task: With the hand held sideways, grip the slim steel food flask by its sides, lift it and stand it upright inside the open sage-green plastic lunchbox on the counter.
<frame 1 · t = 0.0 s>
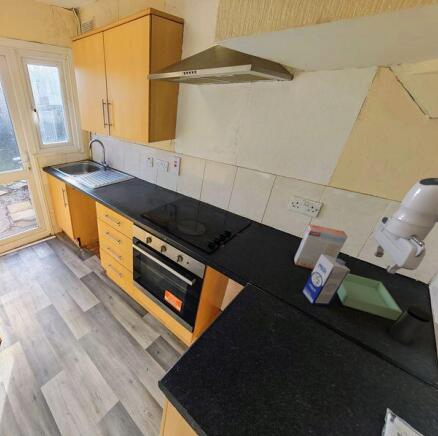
hand: (383, 263, 77), 23 cm above the table, tool pointing down, fingers open, 8 cm apart
cracker box: (309, 266, 112), on the table
milk carton: (314, 298, 93), on the table
food flask: (398, 336, 79), on the table
lunchbox: (360, 296, 95), on the table
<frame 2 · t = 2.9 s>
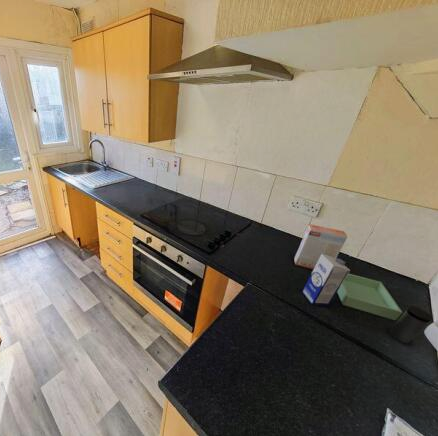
nothing on the table moved.
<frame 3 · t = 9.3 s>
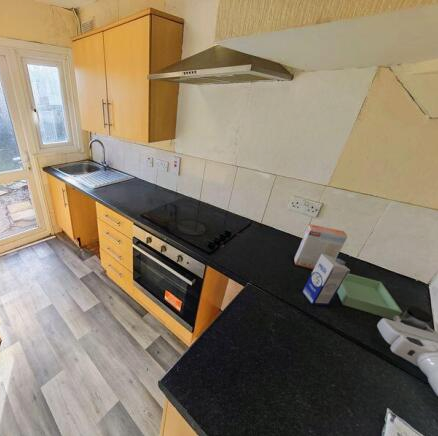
hand: (409, 320, 76), 7 cm above the table, tool horizontal, fingers closed on food flask, 5 cm apart
food flask: (398, 336, 79), on the table, touching gripper
everything else where it was.
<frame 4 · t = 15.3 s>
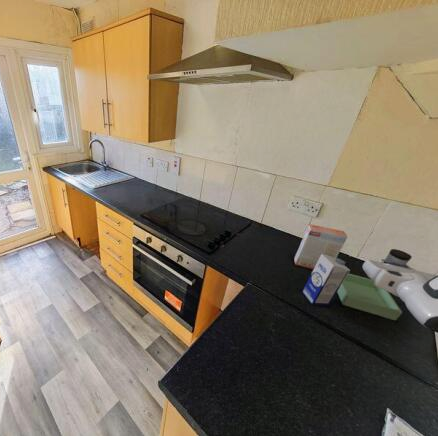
hand: (391, 263, 84), 20 cm above the table, tool horizontal, fingers closed on food flask, 5 cm apart
food flask: (382, 278, 86), point 13 cm above the table, touching gripper
everything else where it was.
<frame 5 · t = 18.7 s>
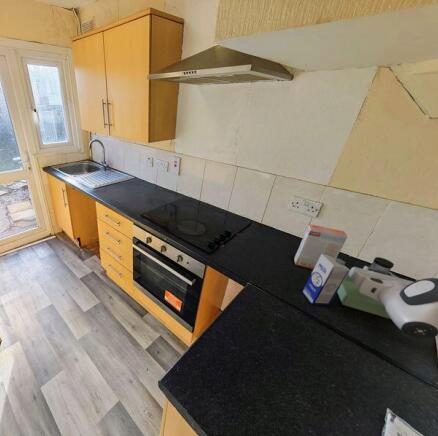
hand: (376, 270, 89), 14 cm above the table, tool horizontal, fingers closed on food flask, 5 cm apart
food flask: (368, 284, 92), point 7 cm above the table, touching gripper
everything else where it was.
when the fingers open (8 cm above the table, at t = 21.5 s): food flask stays where it is, resting on lunchbox.
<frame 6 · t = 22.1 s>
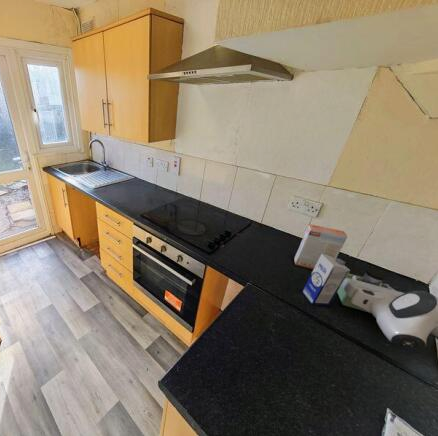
hand: (369, 280, 92), 8 cm above the table, tool horizontal, fingers open, 8 cm apart
food flask: (361, 295, 94), point 1 cm above the table, touching lunchbox
everything else where it was.
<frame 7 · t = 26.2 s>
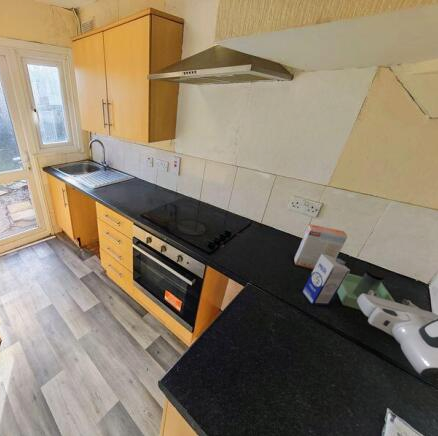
hand: (387, 296, 80), 11 cm above the table, tool horizontal, fingers open, 8 cm apart
nothing on the table moved.
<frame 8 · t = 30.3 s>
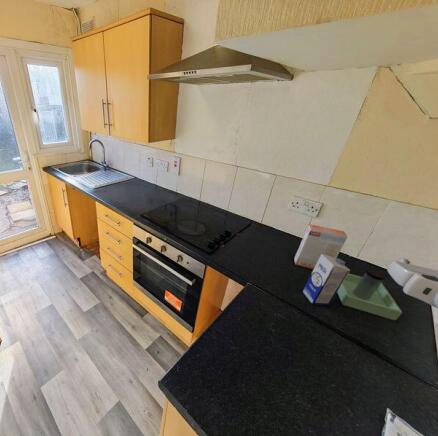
hand: (422, 265, 69), 28 cm above the table, tool horizontal, fingers open, 8 cm apart
nothing on the table moved.
at the end: food flask inside the target area in the lunchbox (0.1 cm from its centre), point 1.0 cm above the lunchbox's base; food flask tilted 0°; the gripper is holding nothing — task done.
